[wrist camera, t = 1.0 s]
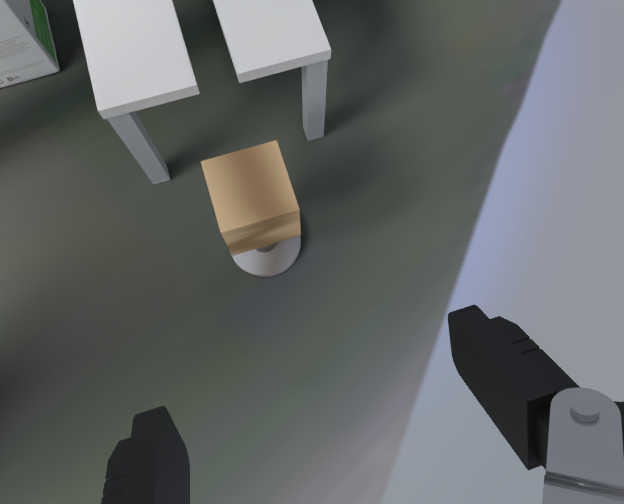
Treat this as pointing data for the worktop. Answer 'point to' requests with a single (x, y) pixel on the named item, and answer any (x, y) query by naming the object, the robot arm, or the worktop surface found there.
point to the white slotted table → (177, 67)
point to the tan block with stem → (255, 208)
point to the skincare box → (25, 42)
